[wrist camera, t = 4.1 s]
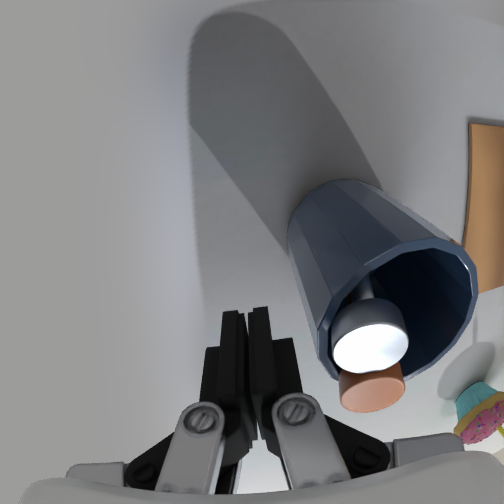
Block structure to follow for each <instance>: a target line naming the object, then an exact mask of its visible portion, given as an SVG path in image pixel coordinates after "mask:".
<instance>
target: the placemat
mask: <svg viewBox="0 0 504 504" xmlns="http://www.w3.org/2000/svg"><path fill="white" fill-rule="evenodd" d="M462 247H463V248H464V249H465V251H466V252H467V254H468V255H469V256H470V258H471V259H472V261H473V262H474V264H475V265H476V268H477V277H478V288H479V292H478V293H482V292H485V291H488V290H491V289H494V288H497V287H500V286H503V285H504V127H501V126H493V125H484V124H474V123H469V183H468V199H467V211H466V221H465V229H464V237H463V244H462Z"/></svg>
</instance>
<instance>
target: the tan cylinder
mask: <svg viewBox="0 0 504 504" xmlns="http://www.w3.org/2000/svg"><path fill="white" fill-rule="evenodd" d="M346 299H347V305H349V304H351V303H352V298H351V292H350V293H349V294H348V295H347V296H346ZM404 391H405V383H404V379H403V375H402V371H401V367H400V363H399V362H397V363H395V364H394V365H392V366H390V367H389V368H386V369H384V370H381V371H378V372H374V373H364V374H361V373H353V372H349V371H346V370H344V369H342V370H341V372H340V374H339V393H340V403H341V404H342V406H343V407H344V408H345V409H347V410H349V411H352V412H358V413H367V412H374V411H378V410H381V409H384V408H386V407H389V406H390V405H392V404H394V403H395V402H397V401H398V400H399V399H400V398H401V397H402V395H403V393H404Z"/></svg>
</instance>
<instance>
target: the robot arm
mask: <svg viewBox="0 0 504 504" xmlns="http://www.w3.org/2000/svg"><path fill="white" fill-rule="evenodd" d="M257 422H258V426H259V430H260V434H261V438H262V440H264V439H265V440H266V444H267V448H268V451H270V452H271V453H273V454H274V455H276V456H278V457H279V458H280V462H281V466H282V469H283V472H284V476H285V479H286V483H287V486H288V489H289V490H287V491H278V492H267V493H253V494H237V489H238V484H239V478H240V472H241V467H242V458H243V457H244V456H245V455H246V454H247V453H249V449H250V448H252V441H253V440H257V439H258V435H257ZM19 504H504V466H503V464H502V463H501V462H500V461H499V460H498V459H497V458H496V457H495V456H493V455H492V454H490V453H487V452H483V451H465V450H464V445H463V442H462V440H461V438H460V437H458V436H457V435H456V434H453V433H440V434H434V435H427V436H420V437H412V438H404V439H394V440H393V442H386V443H383V442H382V441H380V440H378V439H376V438H373V437H371V436H369V435H367V434H365V433H362V432H360V431H358V430H356V429H354V428H351V427H349V426H347V425H345V424H343V423H341V422H339V421H337V420H335V419H333V418H331V417H329V416H327V415H325V414H323V412H322V410H321V407H320V405H319V403H318V402H317V400H316V399H315V398H313V397H312V396H310V395H307V394H305V393H303V390H302V384H301V379H300V374H299V369H298V364H297V359H296V353H295V348H294V343H293V339H292V338H285V339H278V340H272V335H271V328H270V321H269V313H268V306H266V307H258V308H253V312H249V313H248V332H247V327H246V321H245V316H244V313H241V314H239V313H238V310H234V311H225V312H223V316H222V327H221V339H220V346H217V347H207V348H206V352H205V360H204V367H203V375H202V383H201V391H200V399H199V402H197V403H194V404H192V405H190V406H188V407H187V408H186V409H185V410H184V411H183V412H182V414H181V415H180V417H179V420H178V424H177V426H176V429H175V432H173V433H172V434H170V435H169V436H168V437H166V438H165V439H163V440H162V441H160V442H159V443H158V444H156V445H155V446H153V447H152V448H150V449H149V450H147V451H146V452H145V453H143V454H142V455H140V456H138V457H137V458H135V459H134V460H133V461H132V462H130V463H128V464H125V463H124V462H112V463H92V464H77V465H74V466H72V467H70V469H69V470H68V471H67V474H66V477H65V478H49V479H44V480H40V481H37V482H34V483H32V484H31V485H30V486H29V487H28V488H27V489H26V490H25V492H24V493H23V495H22V497H21V499H20V501H19Z"/></svg>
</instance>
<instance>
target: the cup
mask: <svg viewBox="0 0 504 504" xmlns="http://www.w3.org/2000/svg"><path fill="white" fill-rule="evenodd" d="M287 247H288V252H289V259H290V262H291V265H292V269H293V272H294V276H295V279H296V282H297V286H298V289H299V293H300V296H301V300H302V303H303V307H304V310H305V314H306V317H307V321H308V324H309V328H310V331H311V335H312V339H313V342H314V346H315V350H316V353H317V357H318V359H319V361H320V362H321V364H322V365H323V367H324V368H325V370H326V371H327V373H328V374H329V376H330V377H331V378H333V379H335V380H337V381H339V374H340V372H341V370H342V368H341V367H339V366H338V365H337V364H336V362H335V361H334V359H333V356H332V334H331V327H332V323H333V320H334V318H335V317H336V315H337V314H338V313H339V312H340V311H341V310H342V309H343V308H344V307H346V306H347V299H346V296H347V295H348V294H349V293H350V292H351V291H352V290H353V289H354V288H355V287H356V286H357V285H358V283H359V282H360V281H361V280H362V279H363V278H364V277H365V276H366V275H367V274H368V273H369V276H370V281H371V285H372V289H373V294H374V298H379V299H384V300H387V301H390V302H392V303H393V304H395V305H396V306H397V307H398V308H399V310H400V311H401V313H402V316H403V320H404V323H405V327H406V331H407V334H408V339H409V344H408V348H407V351H406V353H405V354H404V356H403V357H402V358H401V359H400V360H399V361H398V362H399V363H400V367H401V371H402V375H403V379H404V381H407V380H409V379H411V378H413V377H414V376H416V375H418V374H420V373H421V372H423V371H425V370H426V369H428V368H430V367H432V366H433V365H434V364H435V363H436V362H437V361H439V360H440V359H441V358H442V357H443V356H444V355H445V354H446V353H447V352H448V351H449V350H450V349H451V348H452V347H453V346H454V345H455V344H456V343H457V341H458V340H459V338H460V336H461V335H462V333H463V332H464V330H465V329H466V327H467V325H468V324H469V322H470V320H471V318H472V315H473V312H474V308H475V305H476V301H477V298H478V294H479V293H478V292H479V288H478V277H477V268H476V265H475V264H474V262H473V261H472V259H471V258H470V256H469V255H468V254H467V252H466V251H465V249H464V248H463V247H462V246H461V245H460V244H458V243H457V242H456V241H454V240H453V239H452V238H450V237H449V236H448V235H446V234H445V233H444V232H442V231H441V230H440V229H438V228H437V227H435V226H434V225H433V224H431V223H430V222H428V221H427V220H426V219H424V218H423V217H421V216H420V215H418V214H417V213H415V212H414V211H412V210H411V209H409V208H408V207H406V206H405V205H403V204H402V203H400V202H399V201H397V200H396V199H394V198H393V197H391V196H389V195H388V194H386V193H385V192H383V191H381V190H380V189H378V188H377V187H374V186H371V185H370V184H367V183H365V182H362V181H358V180H352V179H341V180H335V181H331V182H328V183H325V184H323V185H321V186H319V187H317V188H316V189H314V190H313V191H311V192H310V193H309V194H308V195H307V196H305V198H304V199H303V200H302V201H301V202H300V203H299V205H298V206H297V207H296V209H295V211H294V213H293V214H292V217H291V219H290V222H289V226H288V230H287Z"/></svg>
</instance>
